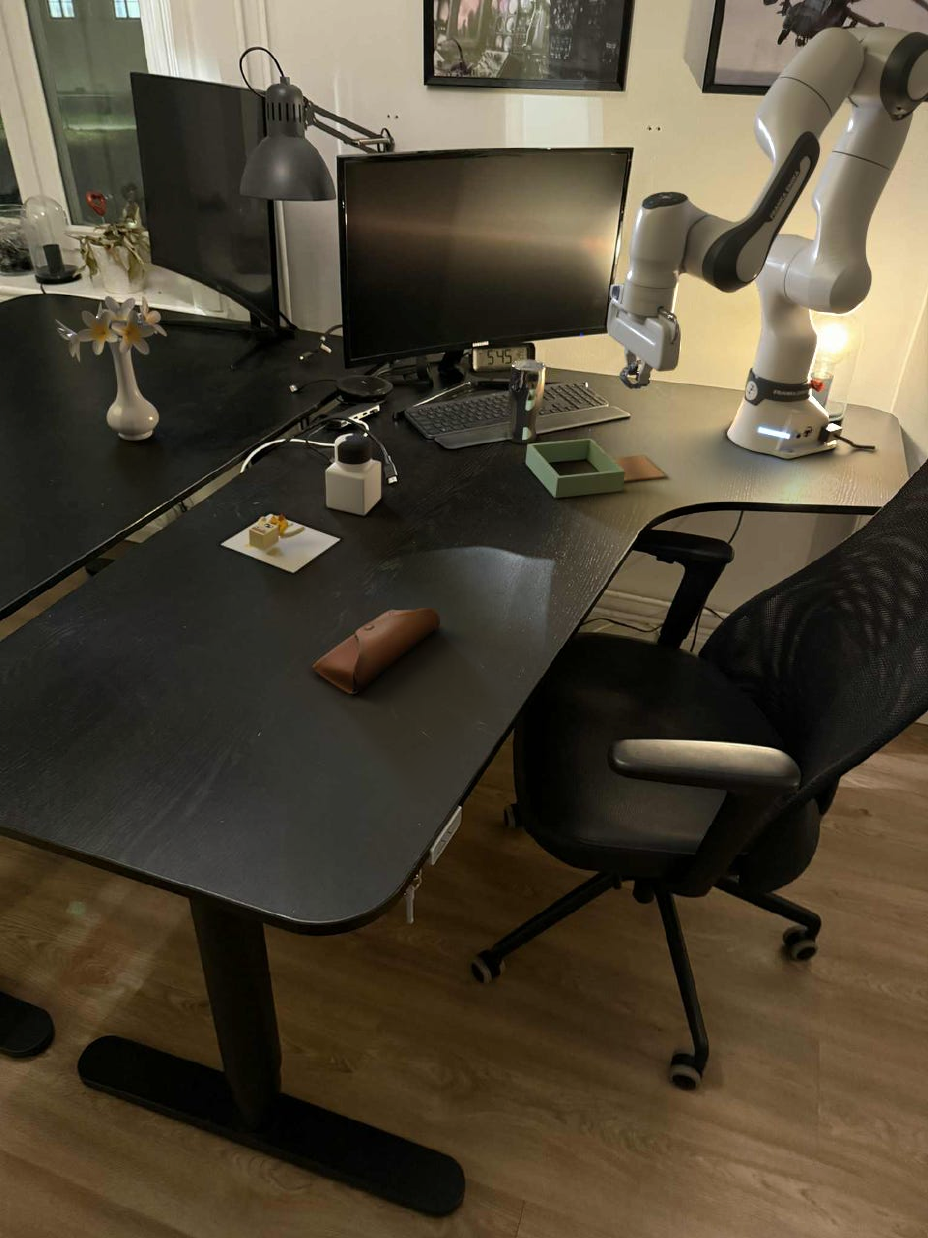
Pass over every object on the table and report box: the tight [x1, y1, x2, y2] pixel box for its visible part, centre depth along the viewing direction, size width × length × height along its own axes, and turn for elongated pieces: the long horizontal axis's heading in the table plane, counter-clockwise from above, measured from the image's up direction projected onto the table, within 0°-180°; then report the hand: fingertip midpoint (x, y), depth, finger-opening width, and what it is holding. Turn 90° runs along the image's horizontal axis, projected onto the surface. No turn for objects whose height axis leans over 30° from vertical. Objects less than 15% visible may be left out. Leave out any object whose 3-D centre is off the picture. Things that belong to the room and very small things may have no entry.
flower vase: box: [55, 295, 168, 442], centre depth 158 cm, size 13×18×25 cm
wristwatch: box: [618, 359, 651, 390], centre depth 154 cm, size 3×5×5 cm
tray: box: [525, 438, 625, 499], centre depth 161 cm, size 13×14×4 cm
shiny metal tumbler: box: [506, 358, 547, 444], centre depth 171 cm, size 7×7×15 cm
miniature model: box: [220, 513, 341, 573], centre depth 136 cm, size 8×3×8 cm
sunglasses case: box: [312, 607, 441, 695], centre depth 115 cm, size 18×7×7 cm
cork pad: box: [612, 455, 666, 483], centre depth 166 cm, size 9×9×1 cm
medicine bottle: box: [325, 433, 382, 517], centre depth 145 cm, size 7×7×12 cm
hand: (635, 377), depth 154 cm, fingers closed on wristwatch, 2 cm apart
